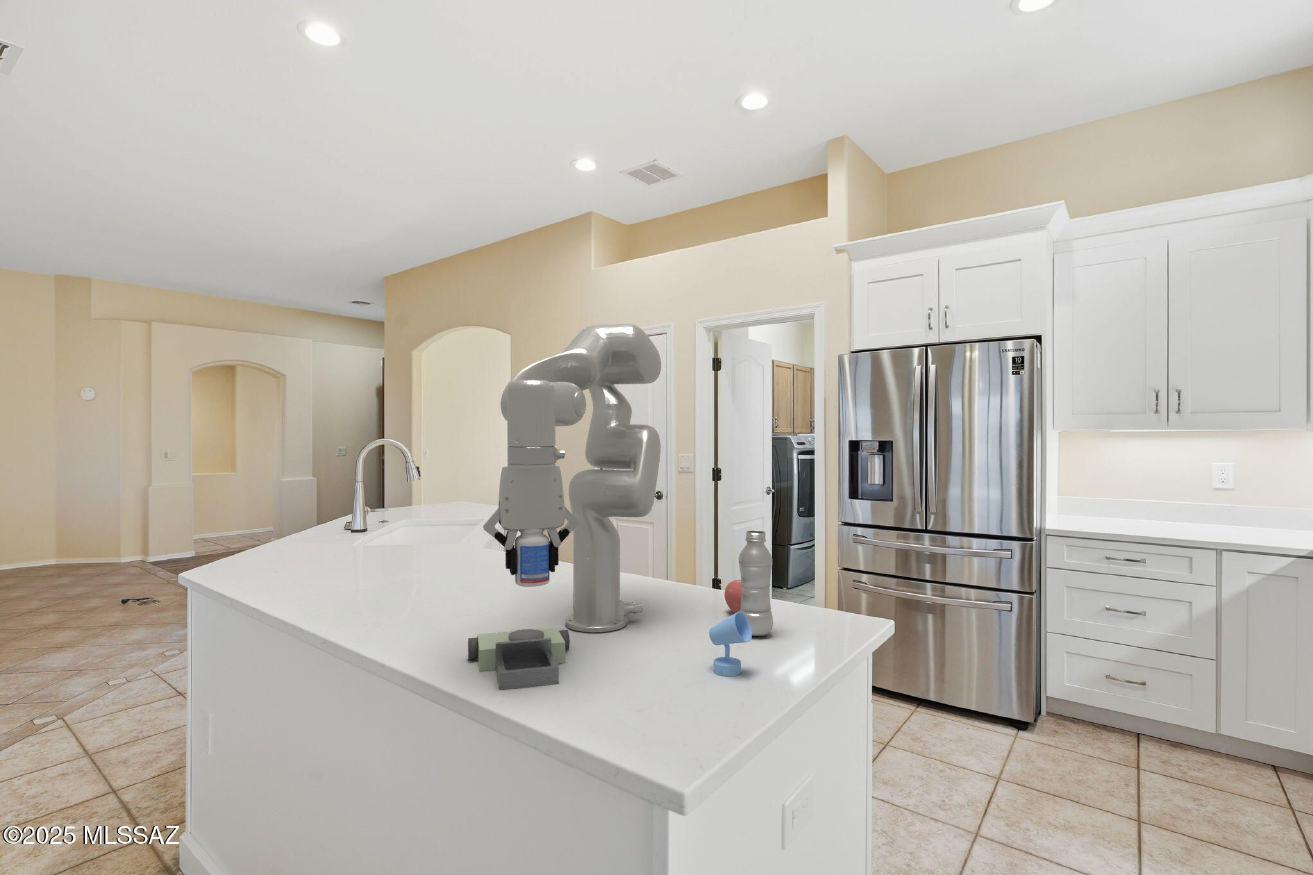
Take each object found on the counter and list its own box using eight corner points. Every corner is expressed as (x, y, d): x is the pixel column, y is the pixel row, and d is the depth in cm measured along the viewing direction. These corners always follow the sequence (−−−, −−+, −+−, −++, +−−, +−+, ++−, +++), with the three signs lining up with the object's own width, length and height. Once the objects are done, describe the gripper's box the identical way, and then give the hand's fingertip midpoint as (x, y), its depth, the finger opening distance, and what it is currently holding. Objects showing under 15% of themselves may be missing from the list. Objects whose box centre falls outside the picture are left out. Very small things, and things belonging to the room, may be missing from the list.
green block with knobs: (565, 645, 120) (565, 623, 120) (574, 661, 111) (574, 637, 111) (467, 654, 115) (468, 631, 115) (469, 672, 106) (469, 647, 106)
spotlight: (755, 671, 107) (717, 663, 111) (755, 610, 107) (717, 604, 111) (742, 680, 103) (703, 672, 107) (743, 617, 103) (704, 610, 107)
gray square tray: (550, 664, 110) (550, 637, 110) (558, 683, 102) (558, 654, 102) (495, 669, 108) (495, 642, 108) (499, 690, 99) (499, 660, 99)
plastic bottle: (765, 642, 123) (765, 535, 123) (732, 636, 126) (732, 532, 126) (778, 633, 128) (778, 531, 128) (746, 628, 132) (746, 528, 132)
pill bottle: (556, 583, 104) (556, 522, 104) (529, 589, 100) (529, 525, 100) (535, 577, 108) (535, 518, 108) (508, 583, 104) (507, 522, 104)
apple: (735, 607, 148) (735, 571, 148) (764, 612, 144) (764, 576, 144) (718, 614, 142) (718, 577, 142) (748, 620, 138) (748, 582, 138)
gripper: (579, 456, 110) (580, 563, 111) (474, 458, 105) (474, 570, 105) (589, 458, 103) (590, 572, 103) (477, 460, 98) (477, 581, 98)
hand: (532, 570), depth 104 cm, fingers closed on pill bottle, 5 cm apart
